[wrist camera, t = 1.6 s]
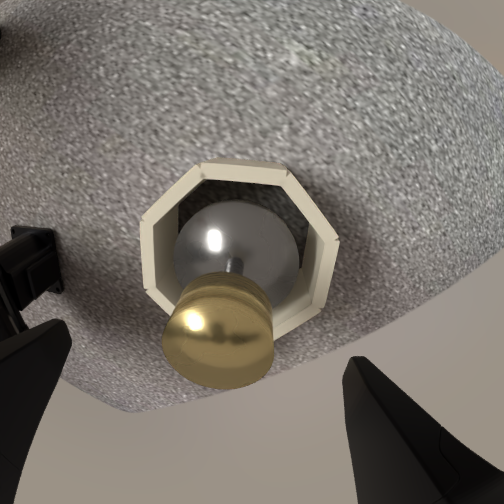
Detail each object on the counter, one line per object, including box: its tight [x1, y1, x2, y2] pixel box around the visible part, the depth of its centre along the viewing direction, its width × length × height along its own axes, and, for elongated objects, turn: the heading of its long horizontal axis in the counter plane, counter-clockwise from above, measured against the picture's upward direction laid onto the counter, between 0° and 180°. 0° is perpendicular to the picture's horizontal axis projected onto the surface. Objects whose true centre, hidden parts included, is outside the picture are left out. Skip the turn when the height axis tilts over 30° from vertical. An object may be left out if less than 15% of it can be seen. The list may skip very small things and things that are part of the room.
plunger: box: [162, 199, 299, 389], centre depth 12 cm, size 7×7×8 cm
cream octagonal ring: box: [140, 157, 340, 340], centre depth 18 cm, size 11×13×5 cm
